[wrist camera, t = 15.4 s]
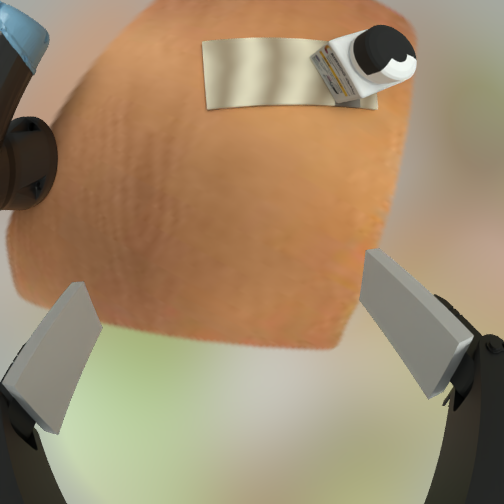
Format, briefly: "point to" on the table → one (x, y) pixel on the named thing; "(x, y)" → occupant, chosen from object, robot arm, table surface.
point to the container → (365, 62)
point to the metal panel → (267, 74)
